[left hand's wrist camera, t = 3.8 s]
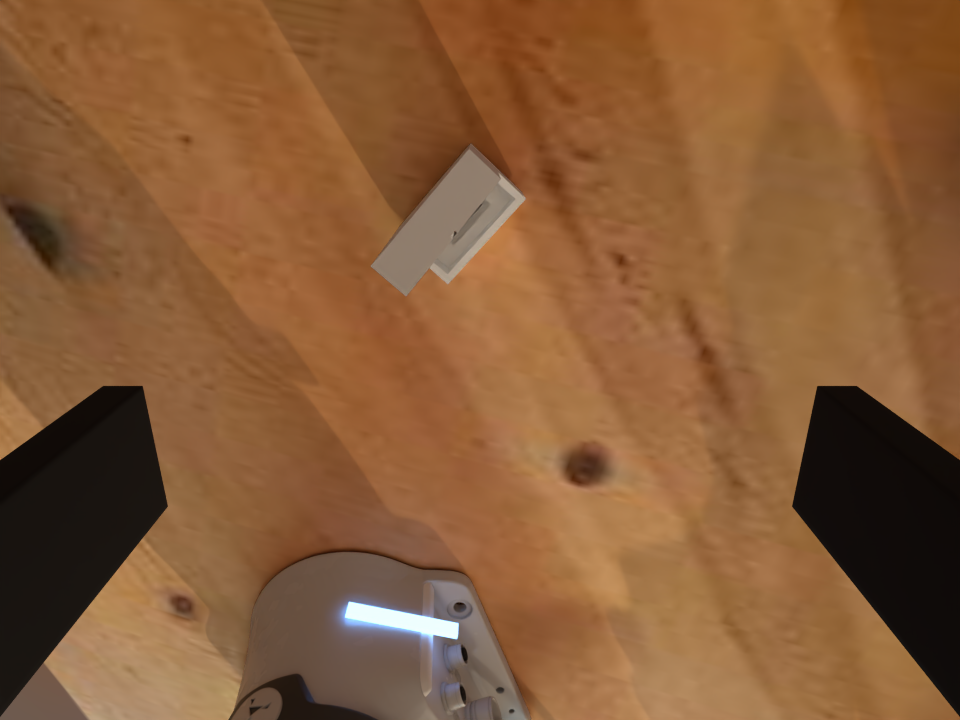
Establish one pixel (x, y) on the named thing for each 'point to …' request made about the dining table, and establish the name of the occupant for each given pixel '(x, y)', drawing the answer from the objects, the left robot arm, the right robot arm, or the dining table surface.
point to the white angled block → (449, 222)
